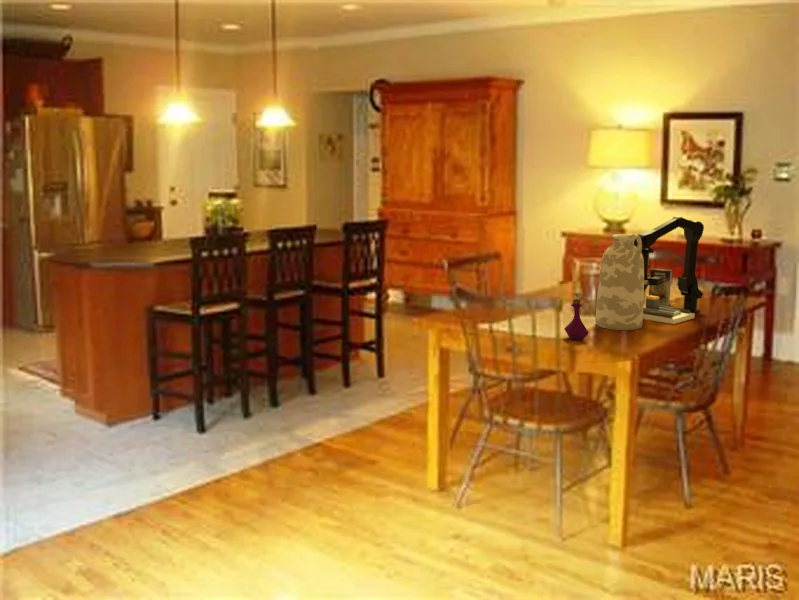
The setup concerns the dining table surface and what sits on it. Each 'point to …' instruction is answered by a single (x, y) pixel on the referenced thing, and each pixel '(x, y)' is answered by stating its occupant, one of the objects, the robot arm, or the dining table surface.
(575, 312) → the perfume bottle
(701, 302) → the dining table surface
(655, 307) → the lever
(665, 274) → the coffee box
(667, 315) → the panel
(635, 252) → the vase
